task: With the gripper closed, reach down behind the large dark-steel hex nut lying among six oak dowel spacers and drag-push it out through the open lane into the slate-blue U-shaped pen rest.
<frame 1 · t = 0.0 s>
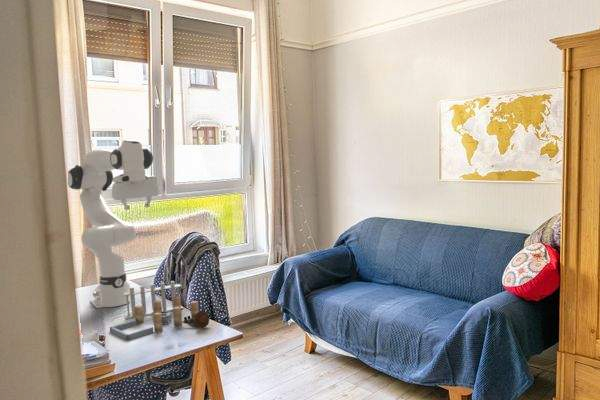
hand: (137, 208, 211), 48 cm above the table, fingers open, 8 cm apart
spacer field: (163, 321, 204), on the table
toy: (195, 325, 199), on the table
pen rest u: (132, 331, 194), on the table
test tube rack: (154, 313, 218), on the table
hex nut: (163, 322, 204), on the table
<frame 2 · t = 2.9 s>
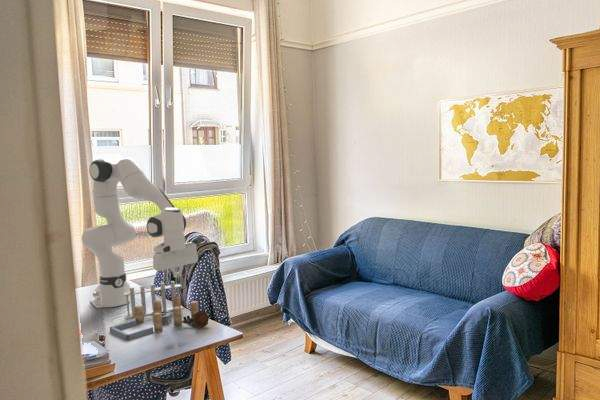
hand: (177, 276, 208), 18 cm above the table, fingers closed
nothing on the table moved.
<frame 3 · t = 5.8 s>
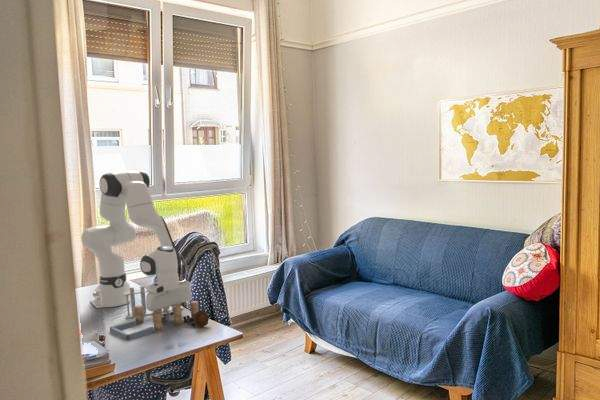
hand: (170, 315, 207), 2 cm above the table, fingers closed
hex nut: (163, 322, 204), on the table, touching gripper
everything else where it was.
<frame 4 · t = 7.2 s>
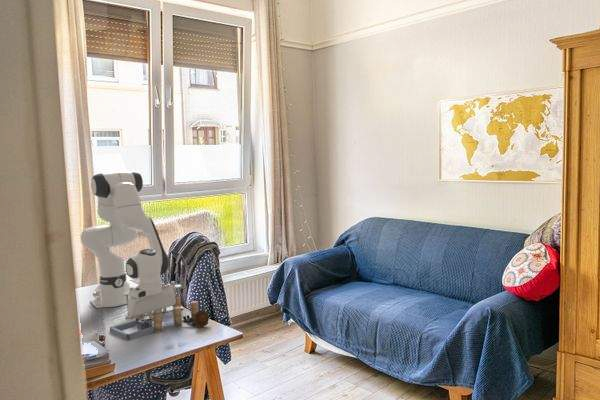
hand: (153, 321, 201), 2 cm above the table, fingers closed
hex nut: (145, 327, 198), on the table, touching gripper
everything else where it was.
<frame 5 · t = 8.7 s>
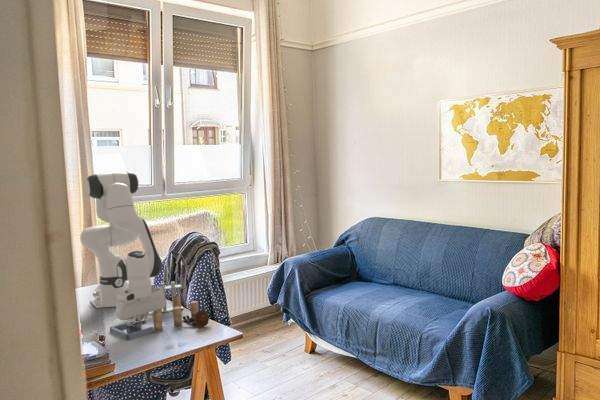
hand: (143, 324, 198), 2 cm above the table, fingers closed
hex nut: (134, 331, 195), on the table, touching gripper
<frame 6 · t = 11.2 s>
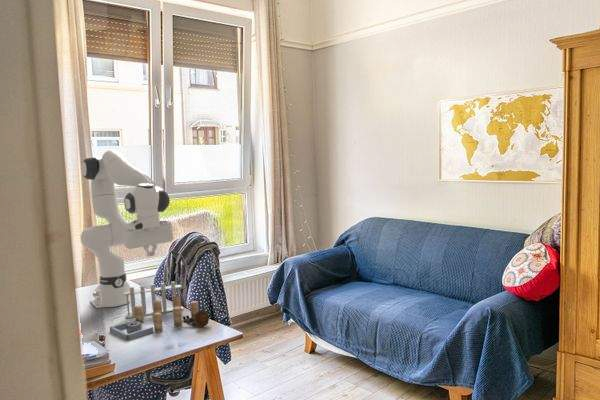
hand: (151, 255, 200), 29 cm above the table, fingers closed
toy: (195, 325, 200), on the table, touching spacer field
hex nut: (134, 331, 195), on the table
everything else where it was.
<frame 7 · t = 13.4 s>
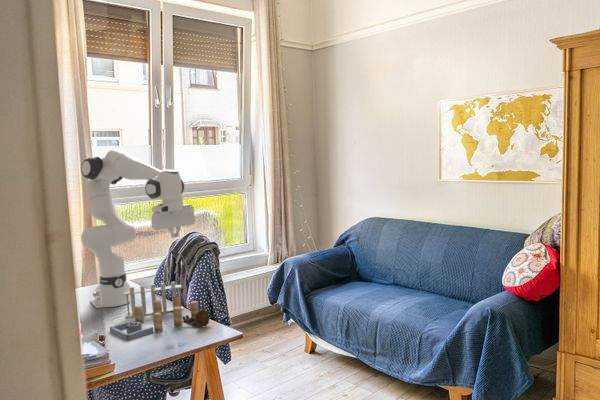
hand: (175, 237, 214), 34 cm above the table, fingers closed
toy: (195, 325, 200), on the table
everything else where it was.
at the end: hex nut inside the target area (0.4 cm from its centre), on the table; hex nut moved 13.4 cm from its start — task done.
